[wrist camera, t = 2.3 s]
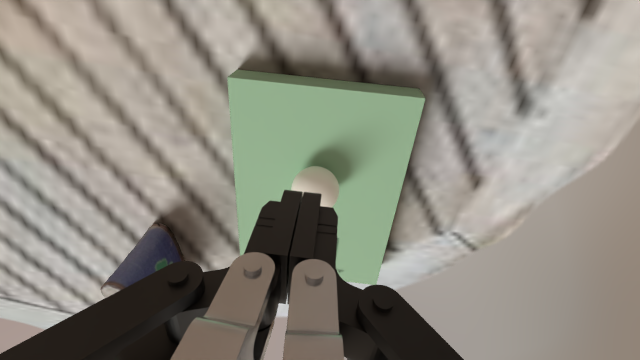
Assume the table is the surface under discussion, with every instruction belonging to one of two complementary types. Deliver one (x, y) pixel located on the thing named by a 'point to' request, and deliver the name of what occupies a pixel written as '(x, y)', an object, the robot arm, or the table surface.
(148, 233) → the flask
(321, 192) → the ball
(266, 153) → the board
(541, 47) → the table surface
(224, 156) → the table surface
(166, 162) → the table surface
